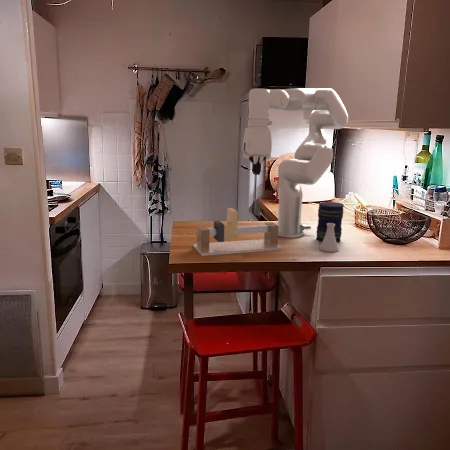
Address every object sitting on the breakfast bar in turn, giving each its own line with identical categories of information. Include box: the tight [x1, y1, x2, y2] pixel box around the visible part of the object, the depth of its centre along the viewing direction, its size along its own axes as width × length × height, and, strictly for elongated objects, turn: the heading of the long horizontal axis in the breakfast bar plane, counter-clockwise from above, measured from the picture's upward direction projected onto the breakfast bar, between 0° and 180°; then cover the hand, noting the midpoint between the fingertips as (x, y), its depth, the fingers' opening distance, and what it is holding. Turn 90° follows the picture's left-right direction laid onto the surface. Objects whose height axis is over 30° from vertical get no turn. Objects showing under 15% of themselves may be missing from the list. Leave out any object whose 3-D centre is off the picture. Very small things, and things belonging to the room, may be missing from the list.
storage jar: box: [315, 201, 345, 244], centre depth 178 cm, size 10×10×15 cm
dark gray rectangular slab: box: [213, 220, 225, 242], centre depth 162 cm, size 2×6×6 cm, turn 19°
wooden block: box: [220, 207, 239, 241], centre depth 162 cm, size 5×6×11 cm
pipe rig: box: [193, 221, 283, 257], centre depth 165 cm, size 31×12×8 cm, turn 108°
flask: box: [319, 223, 339, 253], centre depth 166 cm, size 7×7×10 cm
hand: (256, 174), depth 165 cm, fingers closed
